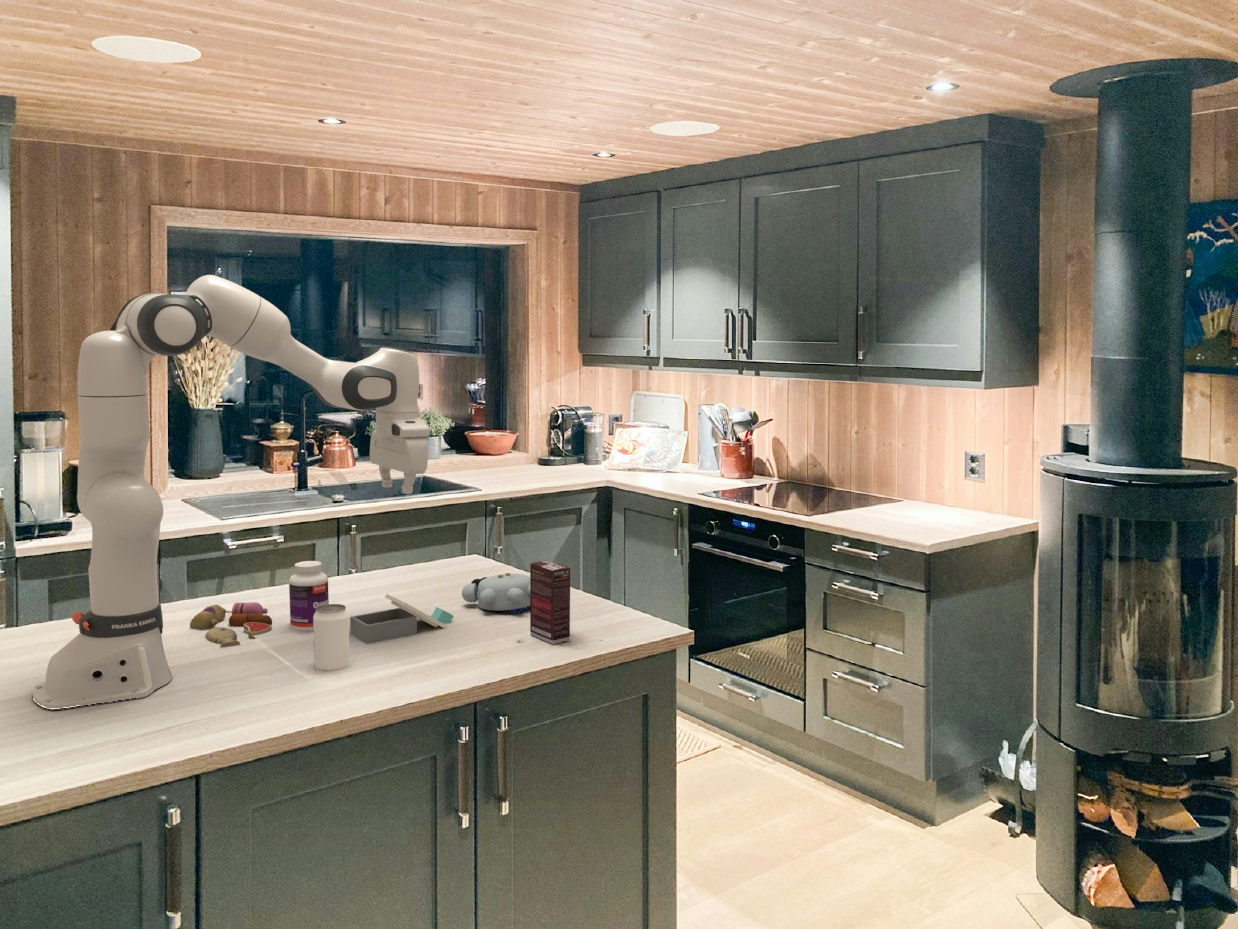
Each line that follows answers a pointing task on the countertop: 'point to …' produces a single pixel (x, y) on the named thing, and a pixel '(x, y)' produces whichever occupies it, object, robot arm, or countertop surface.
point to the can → (331, 637)
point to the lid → (435, 620)
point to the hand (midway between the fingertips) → (397, 490)
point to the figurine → (500, 592)
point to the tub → (383, 625)
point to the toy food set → (233, 622)
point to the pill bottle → (307, 594)
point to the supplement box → (550, 601)
